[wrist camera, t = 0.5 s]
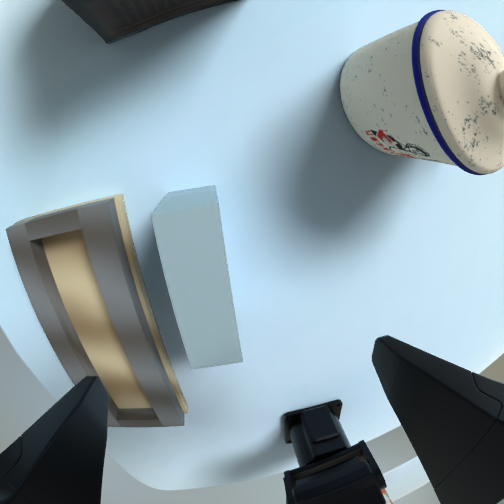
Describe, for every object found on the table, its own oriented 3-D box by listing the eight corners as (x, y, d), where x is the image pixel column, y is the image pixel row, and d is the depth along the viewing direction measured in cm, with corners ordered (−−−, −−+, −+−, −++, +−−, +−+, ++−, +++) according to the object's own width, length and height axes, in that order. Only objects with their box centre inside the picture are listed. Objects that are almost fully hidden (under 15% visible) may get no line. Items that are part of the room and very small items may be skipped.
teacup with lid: (341, 159, 18) (476, 191, 7) (325, 36, 15) (437, -36, 4) (455, 158, 19) (564, 187, 9) (445, 60, 16) (551, 51, 5)
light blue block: (233, 307, 21) (243, 361, 16) (193, 313, 21) (191, 369, 15) (215, 185, 18) (218, 203, 12) (168, 192, 17) (150, 214, 12)
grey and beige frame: (187, 405, 24) (187, 425, 22) (105, 408, 23) (101, 426, 21) (122, 193, 17) (110, 201, 14) (21, 219, 16) (3, 230, 14)
